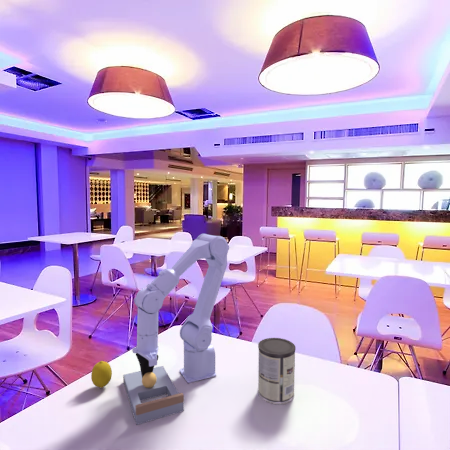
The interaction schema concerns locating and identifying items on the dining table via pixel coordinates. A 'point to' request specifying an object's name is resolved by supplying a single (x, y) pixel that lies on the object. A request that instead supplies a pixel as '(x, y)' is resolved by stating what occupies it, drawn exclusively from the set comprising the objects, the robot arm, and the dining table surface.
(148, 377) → the ball
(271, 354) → the coffee can
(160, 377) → the grey piece
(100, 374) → the lemon
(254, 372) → the dining table surface
